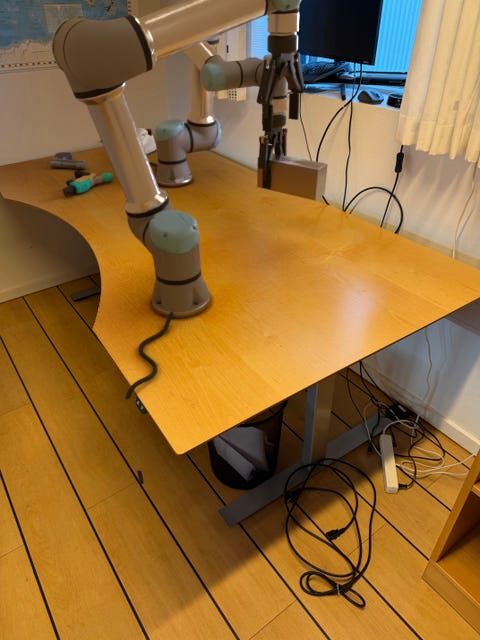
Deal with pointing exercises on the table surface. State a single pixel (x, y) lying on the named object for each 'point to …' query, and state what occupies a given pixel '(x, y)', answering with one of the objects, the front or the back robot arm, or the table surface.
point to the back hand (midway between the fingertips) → (272, 184)
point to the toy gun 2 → (85, 181)
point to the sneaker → (147, 139)
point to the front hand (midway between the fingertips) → (281, 125)
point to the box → (296, 176)
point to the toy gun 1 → (66, 161)
